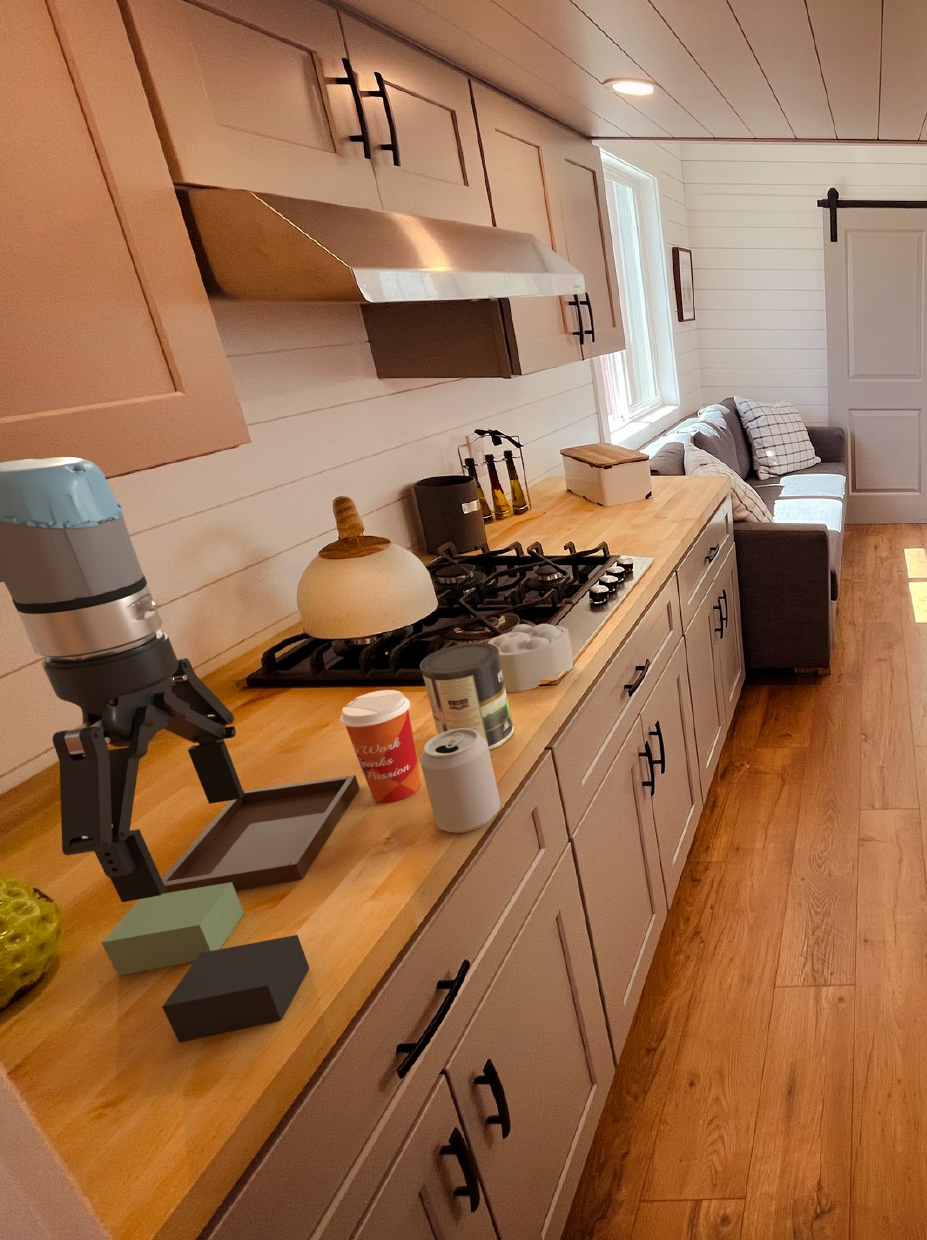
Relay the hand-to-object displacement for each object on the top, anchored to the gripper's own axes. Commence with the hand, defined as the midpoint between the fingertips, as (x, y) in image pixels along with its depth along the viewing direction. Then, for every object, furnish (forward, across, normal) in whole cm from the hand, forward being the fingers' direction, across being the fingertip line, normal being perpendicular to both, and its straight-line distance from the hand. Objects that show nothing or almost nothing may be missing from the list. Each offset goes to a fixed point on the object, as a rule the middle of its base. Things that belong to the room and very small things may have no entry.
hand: (189, 843), depth 69 cm
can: (+16, +18, -18) cm, 30 cm away
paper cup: (+16, +27, -7) cm, 32 cm away
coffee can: (+16, +38, -14) cm, 44 cm away
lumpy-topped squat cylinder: (+16, +58, -20) cm, 64 cm away
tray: (+15, +21, +6) cm, 26 cm away
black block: (+15, -6, -3) cm, 17 cm away
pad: (+15, +5, +7) cm, 17 cm away
